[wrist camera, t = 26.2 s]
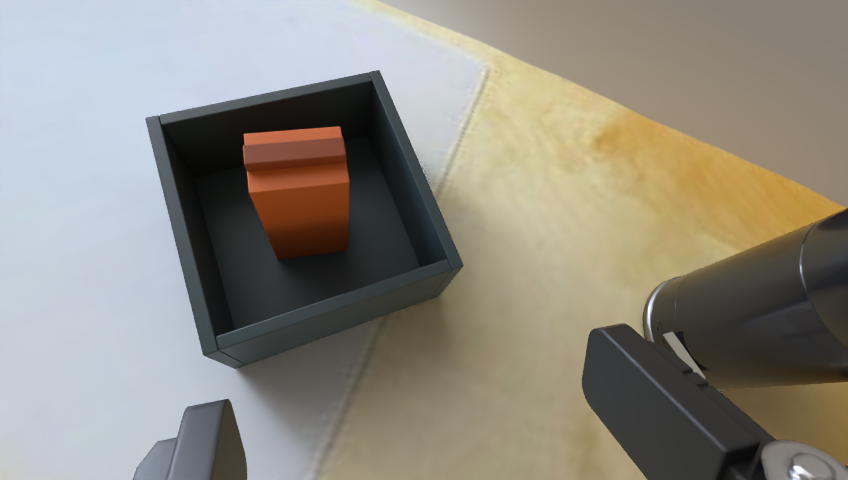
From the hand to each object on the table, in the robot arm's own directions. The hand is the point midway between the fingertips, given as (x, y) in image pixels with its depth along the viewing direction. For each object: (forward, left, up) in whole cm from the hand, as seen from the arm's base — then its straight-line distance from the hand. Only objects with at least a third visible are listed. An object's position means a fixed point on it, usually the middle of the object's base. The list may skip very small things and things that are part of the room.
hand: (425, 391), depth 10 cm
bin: (0, -13, -24) cm, 27 cm away
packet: (0, -13, -23) cm, 27 cm away
